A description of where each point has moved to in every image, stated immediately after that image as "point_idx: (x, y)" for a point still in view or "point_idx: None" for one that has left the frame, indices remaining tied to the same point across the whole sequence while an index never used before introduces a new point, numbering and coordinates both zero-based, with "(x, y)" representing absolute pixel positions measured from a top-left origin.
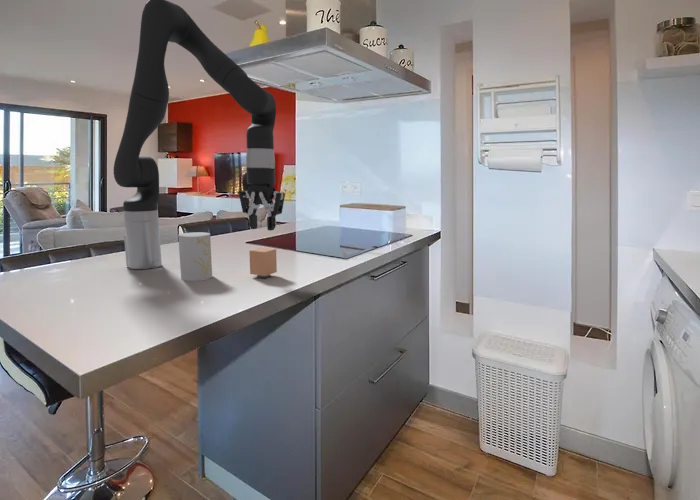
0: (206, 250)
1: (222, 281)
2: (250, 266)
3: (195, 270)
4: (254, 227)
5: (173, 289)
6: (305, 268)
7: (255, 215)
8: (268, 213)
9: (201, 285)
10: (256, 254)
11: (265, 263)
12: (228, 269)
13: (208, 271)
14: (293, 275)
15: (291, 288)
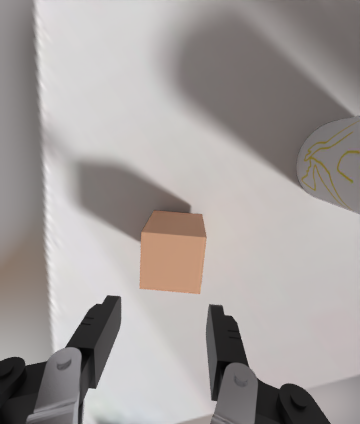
0: (350, 162)
1: (245, 151)
2: (201, 219)
3: (334, 125)
4: (208, 318)
5: (323, 21)
6: (133, 329)
7: (213, 388)
8: (69, 368)
9: (273, 93)
10: (177, 231)
11: (148, 221)
12: (301, 261)
13: (306, 163)
14: (120, 265)
15: (55, 161)
